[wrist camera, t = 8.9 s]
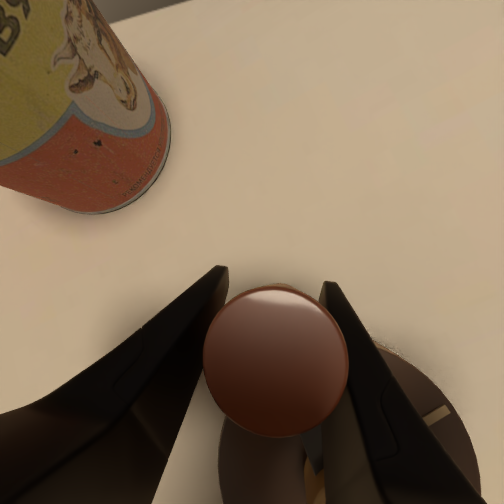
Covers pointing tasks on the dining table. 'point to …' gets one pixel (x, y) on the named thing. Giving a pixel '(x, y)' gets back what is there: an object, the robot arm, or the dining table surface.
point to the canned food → (75, 109)
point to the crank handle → (278, 369)
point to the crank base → (294, 454)
